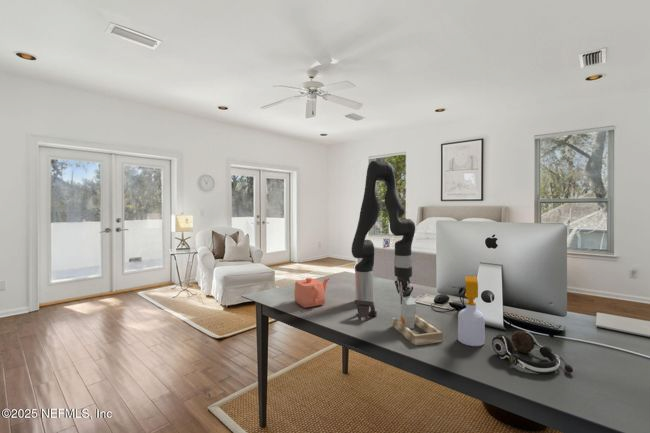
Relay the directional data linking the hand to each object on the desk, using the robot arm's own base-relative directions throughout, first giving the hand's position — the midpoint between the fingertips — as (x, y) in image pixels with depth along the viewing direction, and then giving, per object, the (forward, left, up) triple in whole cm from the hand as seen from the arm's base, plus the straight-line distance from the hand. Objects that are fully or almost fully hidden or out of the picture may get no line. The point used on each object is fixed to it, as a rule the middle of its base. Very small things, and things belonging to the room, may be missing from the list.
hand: (403, 304), depth 138 cm
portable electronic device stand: (-12, -13, -9) cm, 20 cm away
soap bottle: (+23, +16, -9) cm, 29 cm away
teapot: (-40, -31, -9) cm, 52 cm away
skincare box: (+3, 0, -8) cm, 8 cm away
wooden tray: (+10, 0, -9) cm, 13 cm away
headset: (+41, +24, -9) cm, 48 cm away
